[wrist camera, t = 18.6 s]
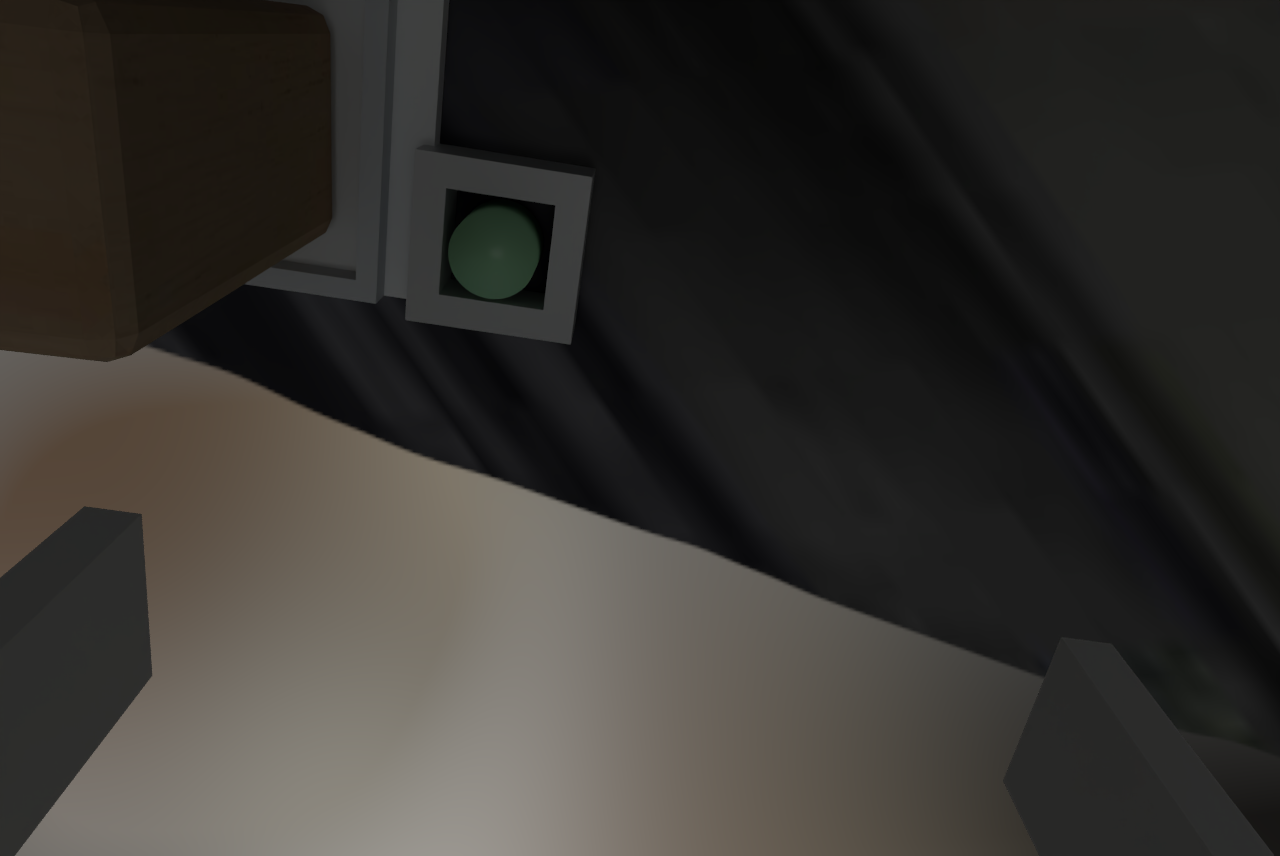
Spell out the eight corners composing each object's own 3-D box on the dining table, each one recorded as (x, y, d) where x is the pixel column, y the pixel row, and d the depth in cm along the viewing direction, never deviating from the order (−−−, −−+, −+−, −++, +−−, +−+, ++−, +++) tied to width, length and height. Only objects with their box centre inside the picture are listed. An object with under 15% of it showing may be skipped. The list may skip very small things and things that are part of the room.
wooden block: (105, -22, 40) (-351, -69, 22) (337, 9, 40) (83, -12, 22) (127, 209, 44) (-243, 335, 26) (338, 235, 44) (124, 377, 26)
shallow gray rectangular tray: (59, -97, 40) (21, -106, 37) (451, -31, 41) (438, -34, 38) (87, 243, 46) (55, 255, 43) (429, 295, 47) (417, 309, 44)
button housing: (429, 141, 44) (414, 149, 41) (595, 168, 44) (592, 177, 42) (419, 303, 47) (405, 319, 44) (574, 326, 47) (570, 344, 45)
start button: (465, 193, 44) (451, 205, 41) (548, 206, 44) (540, 219, 41) (458, 274, 46) (445, 292, 42) (538, 286, 46) (531, 305, 43)
